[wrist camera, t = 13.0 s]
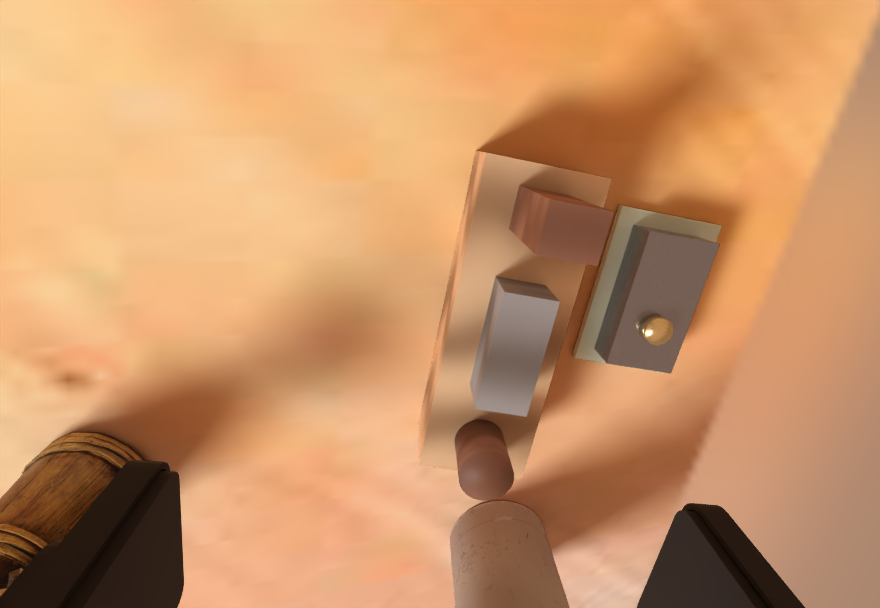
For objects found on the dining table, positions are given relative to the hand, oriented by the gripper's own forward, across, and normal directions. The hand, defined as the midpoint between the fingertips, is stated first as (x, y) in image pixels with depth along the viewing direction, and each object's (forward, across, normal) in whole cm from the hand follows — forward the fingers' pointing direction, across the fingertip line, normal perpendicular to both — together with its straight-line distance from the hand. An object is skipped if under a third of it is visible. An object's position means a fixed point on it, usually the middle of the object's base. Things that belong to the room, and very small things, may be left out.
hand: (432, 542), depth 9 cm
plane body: (+24, -6, +4) cm, 25 cm away
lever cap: (+23, -16, +1) cm, 28 cm away
